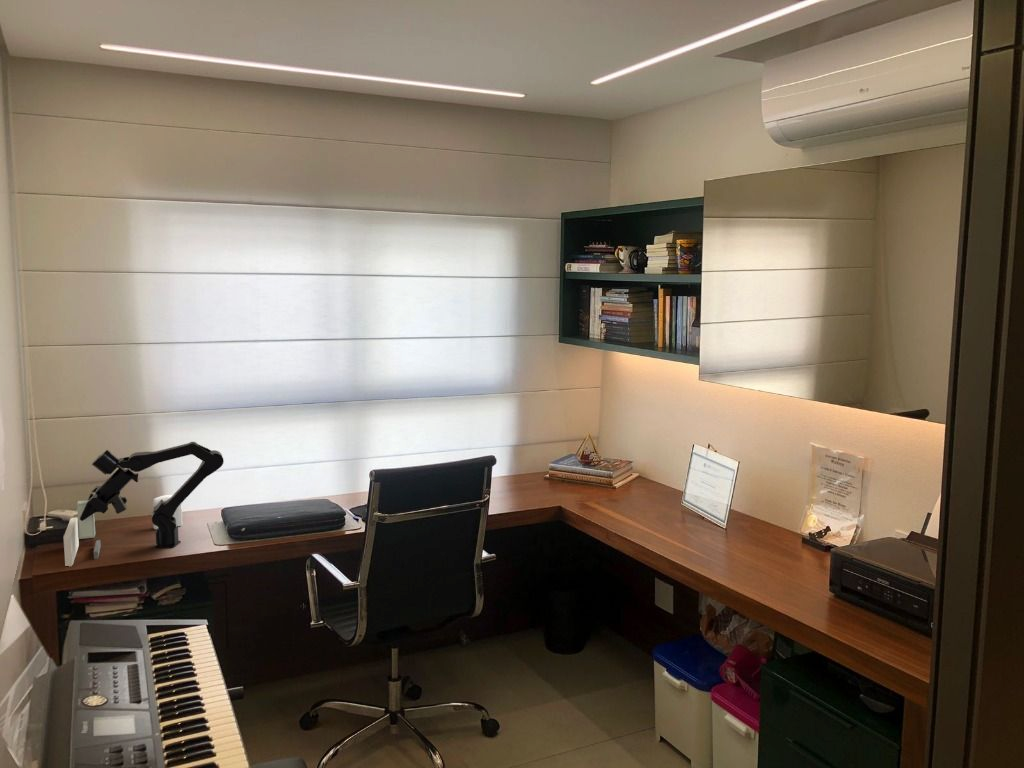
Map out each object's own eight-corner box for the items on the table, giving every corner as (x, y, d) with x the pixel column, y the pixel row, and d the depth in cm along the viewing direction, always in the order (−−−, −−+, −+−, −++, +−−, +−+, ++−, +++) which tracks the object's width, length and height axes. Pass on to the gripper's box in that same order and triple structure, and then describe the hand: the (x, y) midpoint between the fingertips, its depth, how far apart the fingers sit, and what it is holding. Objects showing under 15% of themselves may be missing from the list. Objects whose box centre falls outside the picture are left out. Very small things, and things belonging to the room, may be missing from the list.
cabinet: (95, 533, 284) (93, 499, 283) (94, 537, 279) (92, 502, 278) (80, 535, 282) (78, 501, 281) (79, 539, 278) (77, 504, 276)
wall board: (101, 542, 294) (100, 515, 293) (96, 563, 272) (95, 533, 271) (72, 545, 290) (70, 518, 289) (65, 566, 268) (63, 536, 267)
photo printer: (181, 523, 318) (179, 492, 317) (183, 526, 315) (182, 494, 313) (152, 527, 312) (151, 495, 311) (154, 530, 309) (153, 498, 307)
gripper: (134, 504, 277) (99, 540, 274) (135, 491, 294) (102, 525, 291) (107, 483, 273) (71, 519, 270) (110, 472, 290) (76, 505, 287)
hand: (81, 518), depth 280 cm, fingers closed on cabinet, 5 cm apart
